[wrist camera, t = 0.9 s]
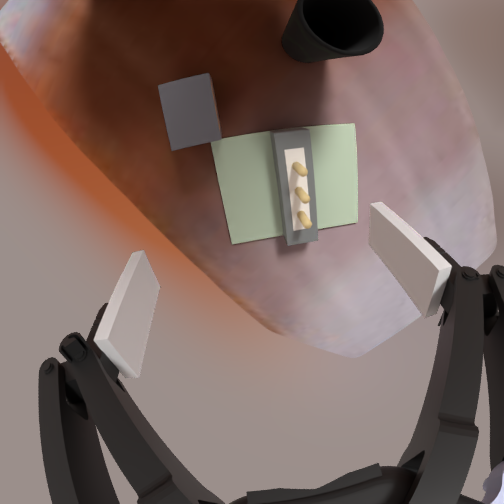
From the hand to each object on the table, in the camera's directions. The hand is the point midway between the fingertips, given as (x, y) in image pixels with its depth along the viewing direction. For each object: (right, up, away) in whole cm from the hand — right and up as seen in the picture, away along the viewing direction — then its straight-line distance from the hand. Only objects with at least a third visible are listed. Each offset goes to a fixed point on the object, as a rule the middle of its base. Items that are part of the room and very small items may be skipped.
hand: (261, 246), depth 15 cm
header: (+5, +8, +19) cm, 21 cm away
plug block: (-7, +16, +13) cm, 22 cm away
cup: (+6, +24, +10) cm, 27 cm away
